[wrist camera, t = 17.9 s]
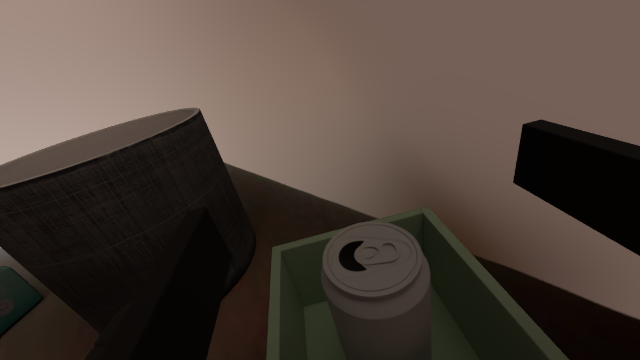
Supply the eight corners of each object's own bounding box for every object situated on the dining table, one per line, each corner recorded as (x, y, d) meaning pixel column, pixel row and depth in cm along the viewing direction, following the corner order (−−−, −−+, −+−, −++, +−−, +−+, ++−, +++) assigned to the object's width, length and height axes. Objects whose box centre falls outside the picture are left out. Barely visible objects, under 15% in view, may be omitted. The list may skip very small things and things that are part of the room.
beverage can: (348, 322, 23) (319, 222, 18) (419, 318, 22) (413, 210, 17) (349, 410, 18) (308, 306, 12) (445, 411, 17) (448, 297, 11)
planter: (71, 305, 35) (-63, 184, 26) (201, 210, 51) (146, 113, 41) (148, 385, 24) (-46, 217, 14) (285, 230, 39) (237, 101, 30)
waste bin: (428, 272, 27) (427, 205, 23) (559, 472, 14) (611, 403, 10) (298, 308, 27) (272, 247, 23) (311, 541, 14) (257, 501, 10)
